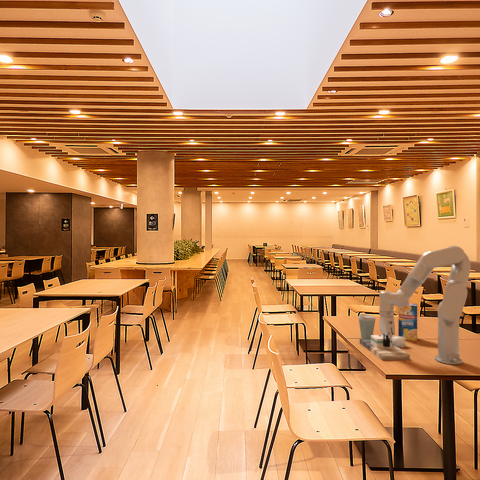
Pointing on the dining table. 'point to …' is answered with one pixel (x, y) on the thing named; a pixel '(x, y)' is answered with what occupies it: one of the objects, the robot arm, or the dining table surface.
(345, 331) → the dining table surface
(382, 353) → the beige flat board
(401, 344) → the white domed cylinder
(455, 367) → the dining table surface
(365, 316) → the disposable coffee cup
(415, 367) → the dining table surface
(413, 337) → the beverage box
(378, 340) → the carton
